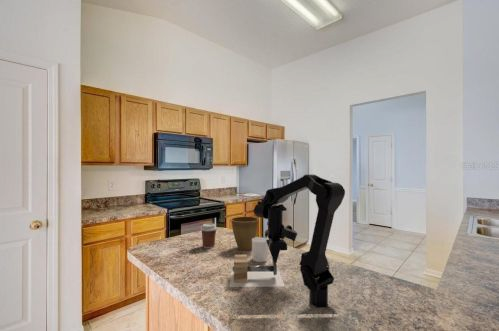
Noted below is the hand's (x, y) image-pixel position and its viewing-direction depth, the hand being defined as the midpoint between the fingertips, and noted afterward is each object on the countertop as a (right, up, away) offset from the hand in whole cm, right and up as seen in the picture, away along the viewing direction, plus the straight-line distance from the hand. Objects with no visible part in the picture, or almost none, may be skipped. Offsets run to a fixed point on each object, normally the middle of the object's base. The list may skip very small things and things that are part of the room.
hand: (274, 261), depth 92 cm
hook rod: (-8, -5, 0) cm, 9 cm away
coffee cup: (-33, -8, +39) cm, 51 cm away
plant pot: (-13, -8, +36) cm, 39 cm away
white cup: (-5, -8, +19) cm, 21 cm away
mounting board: (-7, -7, 0) cm, 10 cm away
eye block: (-13, -6, -1) cm, 15 cm away
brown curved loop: (+20, -8, +13) cm, 25 cm away
